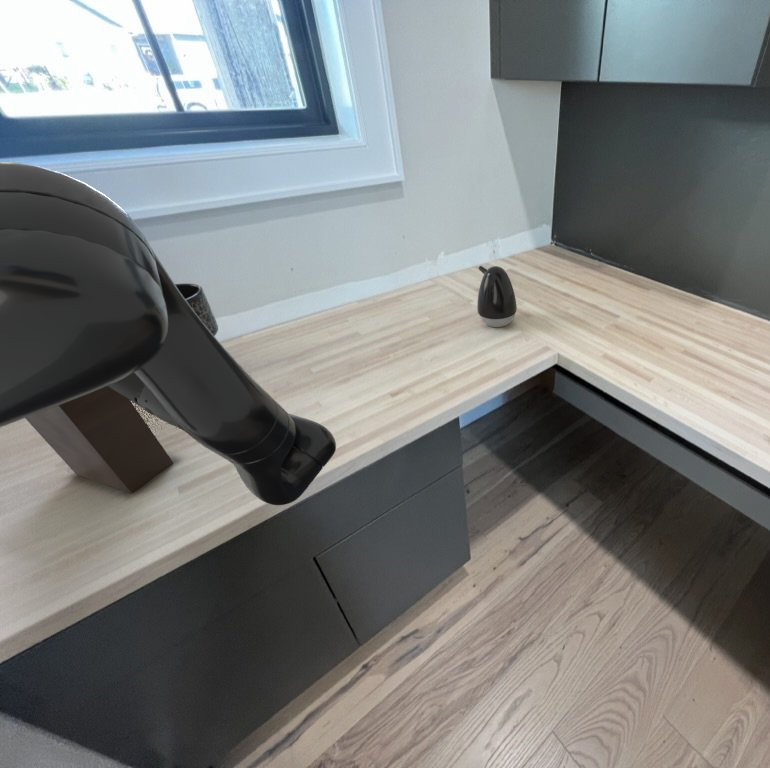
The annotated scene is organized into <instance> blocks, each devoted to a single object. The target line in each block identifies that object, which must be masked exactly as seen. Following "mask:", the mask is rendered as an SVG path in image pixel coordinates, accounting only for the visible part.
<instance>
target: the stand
mask: <svg viewBox="0 0 770 768" xmlns="http://www.w3.org/2000/svg"><path fill="white" fill-rule="evenodd" d="M24 419H25V420H26V421H27V422H28V423H29V424H30V425H31V426H32V427H33V429H34V430H35V431H36V432H37V433H38V434H39V435H40V436H41V438H42V439H43V440H44V441H45V442H46V443H47V444H48V446H50V448H51V449H52V450H53V451H54V452H55V453H56V454H57V456H59V457H60V458H61V460H62V461H63V462H64V463H65V464H66V465H67V466H68V467H69V468H70V470H71V471H72V472H74V474H75V475H76V476H79V477H82V478H84V479H88V480H90V481H93V482H96V483H99V484H102V485H105V486H108V487H111V488H114V489H117V490H120V491H123V492H126V493H128V494H129V493H130V494H133V493H135V492H136V491H137V490H139V489H140V488H142V487H143V486H144V485H146V484H147V483H149V482H150V481H151V480H152V479H154V478H155V477H156V476H158V475H159V474H161V473H162V472H163V471H164V470H166V469H167V468H168V467H170V466H171V465H173V464H174V461H173V460H172V459H171V457H170V456H169V454H168V453H167V451H166V449H165V448H164V447H163V445H162V444H161V443H160V441H159V440H158V438H157V436H155V433H153V431H152V430H151V428H150V427H149V425H148V424H147V422H146V421H145V419H144V418H143V417H142V415H141V414H140V412H139V411H138V409H137V408H136V407H135V405H134V404H133V402H132V401H131V400H129V399H127V398H126V397H124V396H123V395H121V394H119V393H118V392H116V391H115V390H113V389H112V388H110V387H109V386H106V387H104V388H101V389H99V390H97V391H94V392H92V393H90V394H87V395H85V396H82V397H80V398H77V399H74V400H72V401H69V402H67V403H64V404H61V405H59V406H56V407H54V408H51V409H48V410H45V411H43V412H40V413H37V414H35V415H32V416H29V417H27V418H24Z"/></svg>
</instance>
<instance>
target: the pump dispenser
mask: <svg viewBox="0 0 770 768" xmlns="http://www.w3.org/2000/svg"><path fill="white" fill-rule="evenodd" d="M478 270H479V271H480V272H481V273H482V274H483V276H482V279H481V281H480V285H479V289H478V295H477V308H476V309H477V313H478V315H479V317H480V319H481V321H482V322H483V324H485V325H487V326H489V327H492V328H502V327H505V326H507V325H510V323H511V322H512V321H513V320H514V318H515V315H516V313H517V310H518V307H517V300H516V294H515V291H514V286H513V284H512V281H511V279H510V277H509V275H508V273H507V271H506V270H505V269H504V268H502V267H501V266H497V265H493V266H490V267H489V268H488V269H487V268H485V267H484V266H482V265H479V266H478Z"/></svg>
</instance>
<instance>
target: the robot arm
mask: <svg viewBox="0 0 770 768" xmlns="http://www.w3.org/2000/svg"><path fill="white" fill-rule="evenodd" d="M175 284H176V283H175V282H174V281H173V279H172V278H171V276H170V275H169V273H168V271H167V270H166V269H165V267H164V265H163V263H161V261H160V259H159V257H158V256H157V254H156V253H155V251H154V249H153V248H152V246H151V245H150V243H149V241H148V240H147V238H146V237H145V235H144V232H142V230H141V229H140V227H139V226H138V225H137V223H136V221H134V219H133V218H132V217H131V216H130V214H129V213H128V212H126V210H125V209H123V207H121V206H120V205H119V204H117V203H116V202H115V201H114V200H112V199H111V198H109V197H108V196H107V195H106V194H105V193H103V192H101V191H99V190H98V189H96V188H94V187H92V186H91V185H89V184H87V183H86V182H83V181H81V180H79V179H76V178H74V177H73V176H69V175H68V174H65V173H62V172H60V171H55V170H52V169H49V168H46V167H42V166H39V165H34V164H33V165H32V164H27V163H22V162H21V163H20V162H15V161H11V162H10V161H9V162H8V161H0V428H2V427H5V426H8V425H10V424H14V423H16V422H19V421H21V420H24V419H25V418H27V417H29V416H32V415H35V414H37V413H40V412H43V411H45V410H48V409H51V408H54V407H56V406H59V405H61V404H64V403H67V402H69V401H72V400H74V399H77V398H80V397H82V396H85V395H87V394H90V393H92V392H94V391H97V390H99V389H101V388H104V387H106V386H109V387H110V388H112V389H113V390H115V391H116V392H118V393H119V394H121V395H123V396H124V397H126V398H127V399H129V400H130V401H131V403H134V404H135V405H137V406H139V407H140V408H142V409H143V410H144V411H145V412H146V413H148V414H149V415H152V416H155V417H156V418H158V419H159V420H161V421H163V422H165V423H167V424H169V425H171V426H173V427H176V428H178V429H180V430H181V431H183V432H185V433H186V434H188V436H190V437H191V438H192V439H193V440H195V441H196V442H197V443H198V444H200V445H201V446H203V447H204V448H206V449H208V450H209V451H211V452H212V453H214V454H216V455H218V456H219V457H221V458H223V459H225V460H226V461H228V462H230V463H231V464H232V465H233V466H234V467H235V470H236V472H237V473H238V475H239V477H240V479H241V481H242V482H243V484H244V485H245V487H246V488H247V489H248V491H250V493H251V494H253V495H254V497H256V498H257V499H258V500H260V501H262V502H264V503H266V504H269V505H271V506H284V505H285V506H286V505H288V504H290V503H291V504H292V503H294V502H295V501H297V500H298V499H299V498H300V497H301V496H302V495H303V494H304V493H305V492H306V490H307V489H308V488H309V486H310V485H311V484H312V483H313V482H314V480H315V479H316V477H318V475H319V474H320V472H322V471H323V469H324V468H325V466H326V465H327V464H328V463H329V461H330V460H331V459H332V458H333V456H334V454H335V453H336V450H337V442H336V439H335V437H334V435H333V434H332V432H331V430H329V429H328V428H327V427H326V426H324V425H323V424H321V423H319V422H317V421H314V420H312V419H308V418H306V417H302V416H298V415H295V414H291V413H288V412H287V410H285V409H284V408H283V406H282V405H280V403H279V402H277V401H276V399H275V398H274V397H272V395H270V394H269V393H268V392H267V391H266V390H265V389H264V388H263V387H262V386H261V385H260V384H259V383H258V382H257V381H256V380H255V379H254V378H253V377H252V376H251V375H250V374H249V373H248V372H247V371H246V370H245V369H244V368H243V367H242V366H241V365H240V363H238V362H237V360H236V359H235V358H234V356H232V355H231V354H230V353H229V351H228V350H227V349H226V347H224V346H223V344H222V343H221V342H220V341H219V340H218V339H217V338H216V335H215V336H214V335H213V334H212V333H211V332H210V330H209V329H208V328H207V327H206V326H205V324H204V323H203V322H202V321H201V319H200V318H199V317H198V315H197V314H196V313H195V311H194V310H193V309H192V308H191V306H190V305H189V304H188V302H187V301H186V299H185V298H184V297H183V295H182V294H181V293H180V291H179V290H178V288H177V287H176V285H175Z"/></svg>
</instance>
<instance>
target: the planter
mask: <svg viewBox="0 0 770 768" xmlns="http://www.w3.org/2000/svg"><path fill="white" fill-rule="evenodd" d="M174 284H175V285H176V287H177V288H178V290H179V291H180V293H181V294H182V295H183V297H184V298H185V299H186V301H187V302H188V304H189V305H190V306H191V308H192V309H193V310H194V311H195V313H196V314H197V315H198V317H199V318H200V319H201V321H202V322H203V323H204V324H205V326H206V327H207V328H208V329H209V330H210V332H211V333H212V334H213V335H214V336H215V337H216V335H217V334H218V332H219V324H218V323H217V320H216V318H215V316H214V313H213V311H212V308H211V306H210V303H209V301H208V298H207V296H206V294H205V292H204V289H203V287H202V286H201V285H199V284H197V283H191V282H190V283H185V282H184V283H174Z"/></svg>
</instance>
